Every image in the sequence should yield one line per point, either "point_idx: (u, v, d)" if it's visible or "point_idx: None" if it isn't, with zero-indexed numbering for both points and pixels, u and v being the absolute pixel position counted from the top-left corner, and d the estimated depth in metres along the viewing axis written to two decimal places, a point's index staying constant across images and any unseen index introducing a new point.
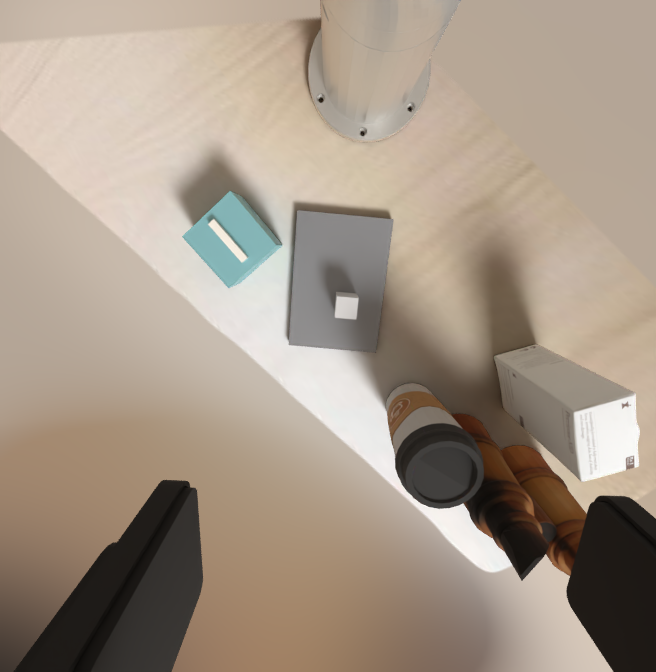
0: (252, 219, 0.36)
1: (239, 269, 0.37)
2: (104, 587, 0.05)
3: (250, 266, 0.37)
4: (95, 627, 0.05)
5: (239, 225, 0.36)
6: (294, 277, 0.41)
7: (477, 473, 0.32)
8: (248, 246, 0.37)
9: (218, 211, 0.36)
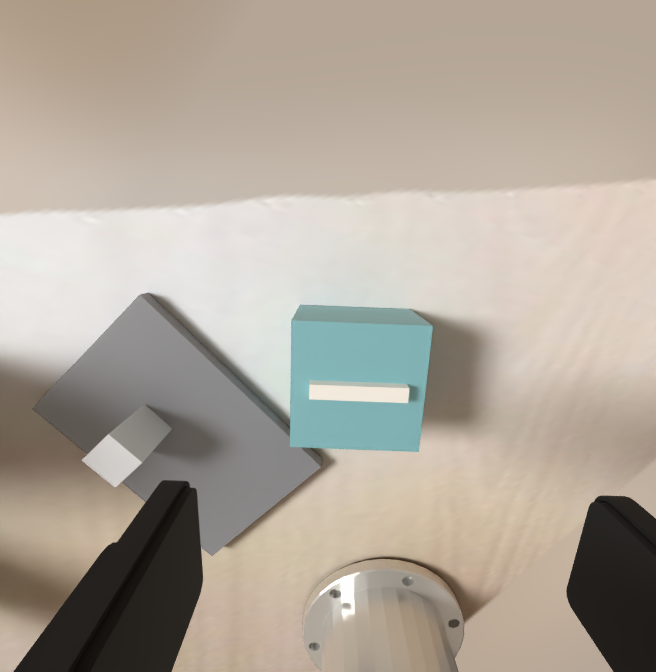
0: (354, 446, 0.19)
1: (303, 364, 0.18)
2: (104, 587, 0.05)
3: (293, 384, 0.18)
4: (94, 627, 0.05)
5: (364, 423, 0.19)
6: (238, 392, 0.22)
7: None
8: (324, 408, 0.18)
9: (410, 412, 0.18)
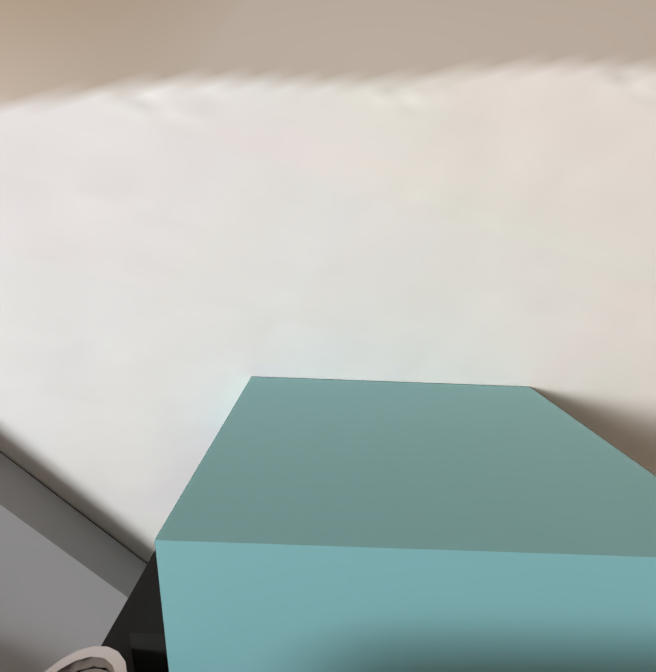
0: None
1: None
2: None
3: None
4: None
5: None
6: (104, 588, 0.09)
7: None
8: None
9: None
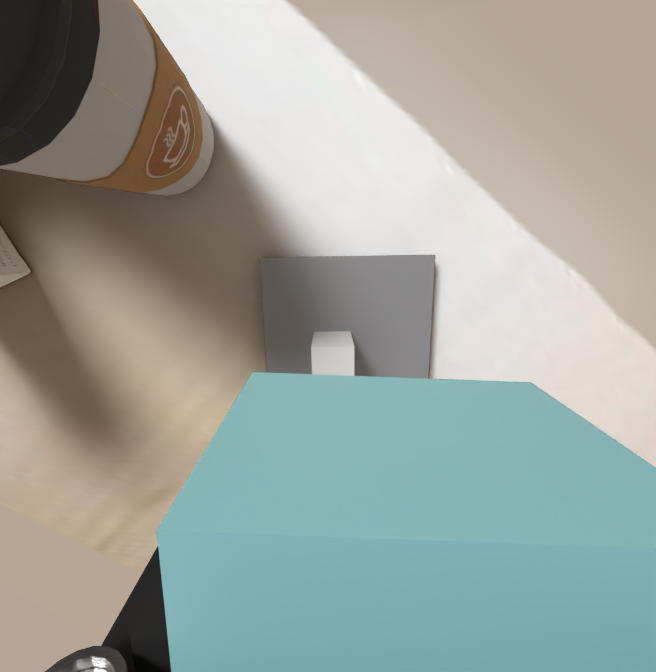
0: None
1: None
2: None
3: None
4: None
5: None
6: None
7: None
8: None
9: None
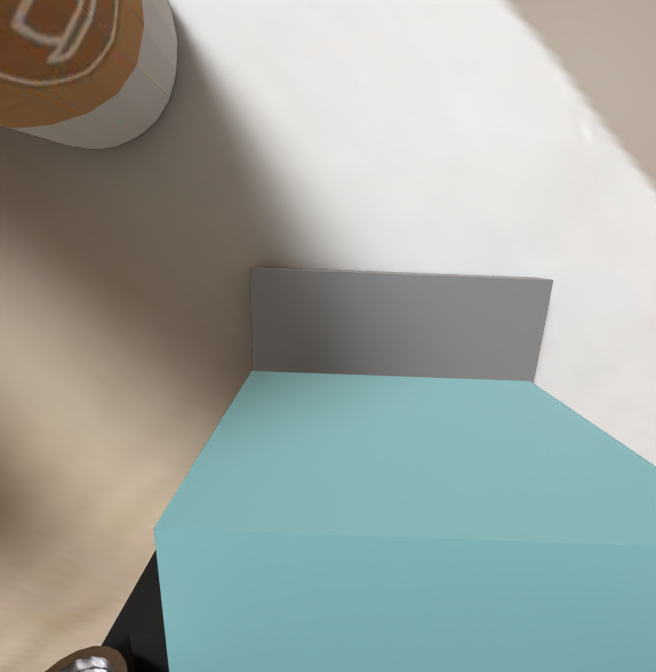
0: None
1: None
2: None
3: None
4: None
5: None
6: None
7: None
8: None
9: None
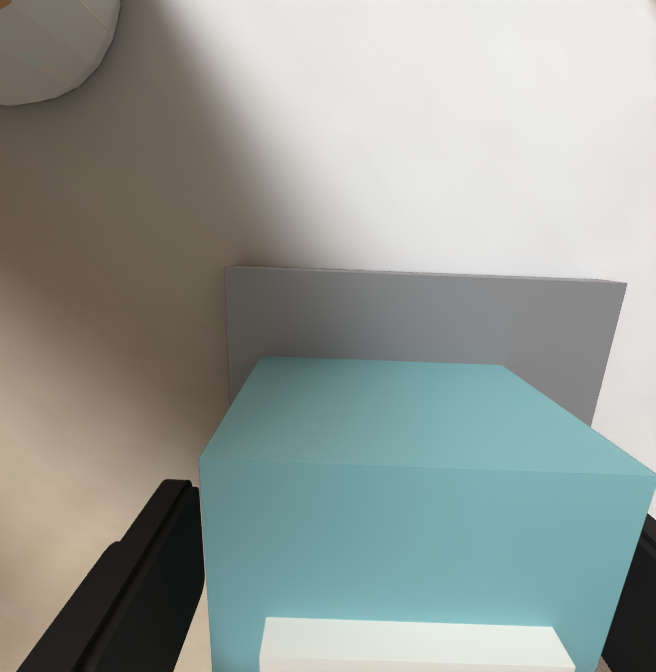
0: None
1: (244, 578, 0.06)
2: (108, 585, 0.05)
3: (219, 627, 0.06)
4: (98, 625, 0.05)
5: None
6: None
7: None
8: None
9: None
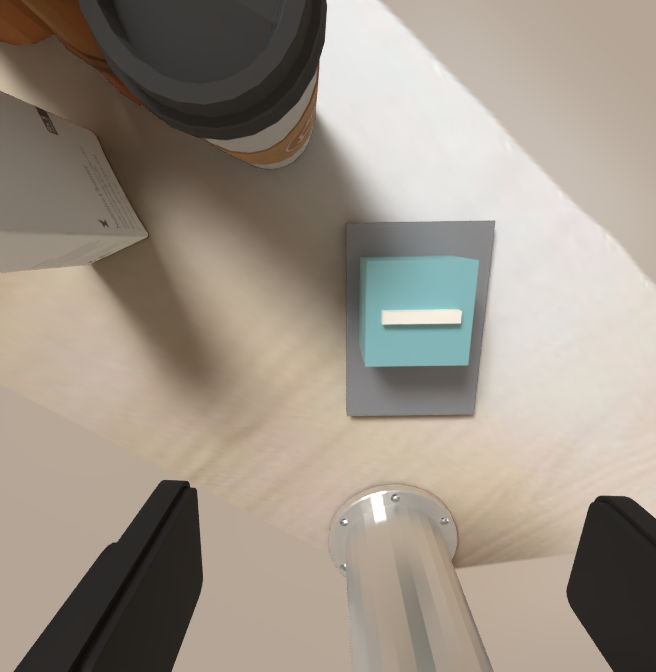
0: (417, 363, 0.24)
1: (376, 297, 0.22)
2: (104, 587, 0.05)
3: (368, 315, 0.23)
4: (94, 627, 0.05)
5: (425, 344, 0.23)
6: (480, 330, 0.28)
7: None
8: (393, 333, 0.23)
9: (461, 332, 0.23)
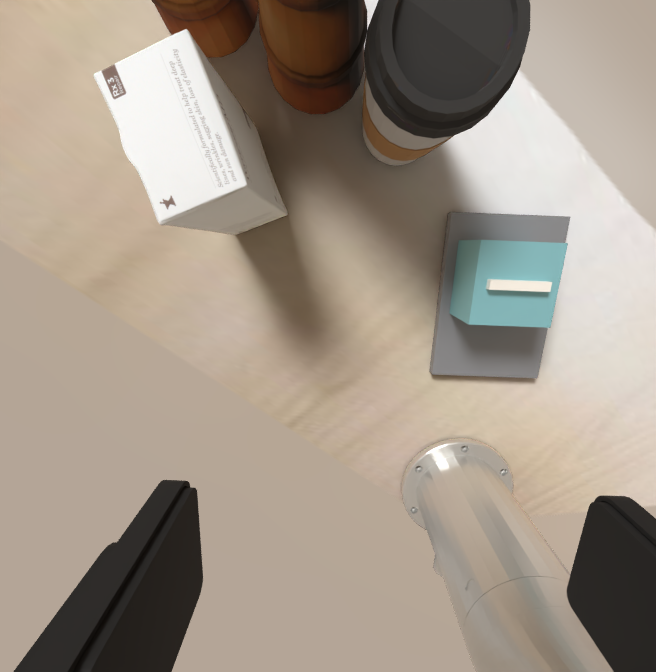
0: (510, 324, 0.30)
1: (484, 268, 0.29)
2: (104, 587, 0.05)
3: (476, 282, 0.29)
4: (94, 627, 0.05)
5: (518, 308, 0.29)
6: None
7: (391, 39, 0.17)
8: (494, 298, 0.29)
9: (547, 300, 0.29)
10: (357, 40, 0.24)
